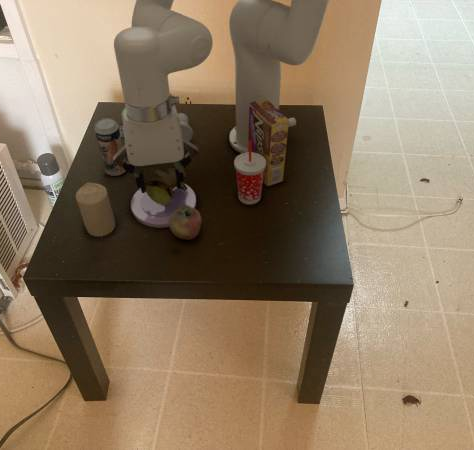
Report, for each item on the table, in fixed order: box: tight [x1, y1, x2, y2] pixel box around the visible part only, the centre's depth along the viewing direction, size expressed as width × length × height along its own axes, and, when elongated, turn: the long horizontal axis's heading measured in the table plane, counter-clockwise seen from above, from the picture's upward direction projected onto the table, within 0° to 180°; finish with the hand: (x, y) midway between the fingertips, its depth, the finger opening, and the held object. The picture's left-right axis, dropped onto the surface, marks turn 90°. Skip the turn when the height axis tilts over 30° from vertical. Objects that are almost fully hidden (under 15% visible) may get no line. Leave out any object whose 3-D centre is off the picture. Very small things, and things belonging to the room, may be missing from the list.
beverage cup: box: [233, 140, 266, 205], centre depth 94 cm, size 6×6×14 cm
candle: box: [75, 181, 116, 238], centre depth 90 cm, size 6×6×10 cm
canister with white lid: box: [94, 117, 127, 176], centre depth 101 cm, size 5×5×12 cm
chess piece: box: [178, 112, 194, 143], centre depth 113 cm, size 5×5×9 cm
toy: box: [145, 167, 187, 205], centre depth 95 cm, size 7×5×10 cm
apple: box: [168, 206, 202, 241], centre depth 89 cm, size 6×8×6 cm
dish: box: [130, 183, 197, 229], centre depth 97 cm, size 13×13×1 cm
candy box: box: [248, 99, 290, 187], centre depth 99 cm, size 9×4×15 cm, turn 27°
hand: (161, 185), depth 94 cm, fingers closed on toy, 6 cm apart
